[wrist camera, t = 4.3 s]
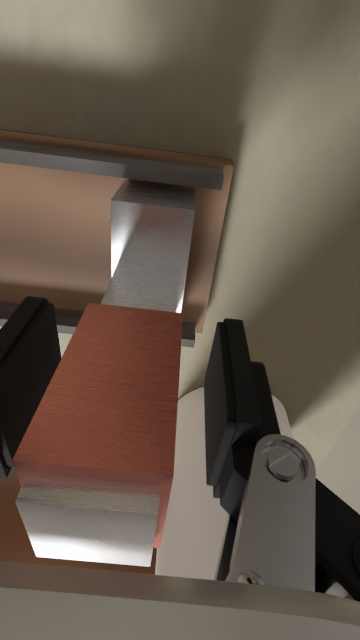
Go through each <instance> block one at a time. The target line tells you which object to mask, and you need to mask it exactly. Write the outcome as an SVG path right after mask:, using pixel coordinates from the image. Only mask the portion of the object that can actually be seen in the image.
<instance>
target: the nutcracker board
mask: <svg viewBox="0 0 360 640" xmlns="http://www.w3.org/2000/svg"><path fill="white" fill-rule="evenodd" d="M233 169H234V165H233V163H232V161H231V159H225V158H217V157H209V156H201V155H194V154H186V153H178V152H170V151H162V150H155V149H147V148H139V147H131V146H124V145H116V144H108V143H100V142H93V141H85V140H77V139H69V138H61V137H54V136H46V135H38V134H30V133H23V132H15V131H7V130H0V326H3V325H4V324H5V323H6V322H7V320H8V319H9V318H10V317H11V315H12V314H13V313H14V311H15V310H16V309H17V308H18V306H19V305H20V304H21V303H22V301H23V300H24V299H25V298H26V297H27V296H32V297H41V298H47V300H48V302H49V303H52V304H53V305H54V310H55V317H56V324H57V331H58V333H67V334H74V332H75V330H76V328H77V325H78V323H79V321H80V319H81V317H82V315H83V313H84V311H85V309H86V307H87V305H88V303H97V304H101V301H102V299H103V297H104V294H105V292H106V290H107V287H108V285H109V283H110V280H111V278H112V271H111V199H112V197H113V196H114V195H115V193H116V192H117V190H118V189H119V188H120V186H121V185H122V183H123V182H124V181H125V180H133V181H141V182H149V183H157V184H165V185H173V186H181V187H189V188H195V215H194V222H193V229H192V237H191V244H190V251H189V259H188V266H187V274H186V281H185V288H184V296H183V303H182V310H181V313H183V319H182V336H181V346H186V347H194V343H195V333H202V331H203V326H204V321H205V316H206V310H207V305H208V300H209V295H210V289H211V284H212V279H213V274H214V268H215V263H216V258H217V253H218V247H219V242H220V237H221V232H222V226H223V221H224V216H225V211H226V205H227V200H228V195H229V190H230V184H231V179H232V174H233Z"/></svg>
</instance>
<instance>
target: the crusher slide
mask: <svg viewBox="0 0 360 640" xmlns="http://www.w3.org/2000/svg"><path fill="white" fill-rule="evenodd" d="M194 215H195V188H189V187H181V186H173V185H165V184H157V183H149V182H141V181H133V180H125V181H124V182H123V183H122V185H121V186H120V188H119V189H118V190H117V192H116V193H115V195H114V196H113V197H112V199H111V271H112V278H111V280H110V283H109V285H108V287H107V290H106V292H105V294H104V297H103V299H102V301H101V304H97V303H88V305H87V307H86V309H85V311H84V313H83V315H82V317H81V319H80V321H79V323H78V325H77V328H76V330H75V332H74V334H73V336H72V338H71V340H70V342H69V344H68V346H67V348H66V350H65V352H64V354H63V356H62V358H61V361H60V363H59V365H58V367H57V369H56V371H55V373H54V375H53V377H52V379H51V381H50V383H49V385H48V387H47V389H46V392H45V394H44V396H43V398H42V400H41V402H40V404H39V406H38V408H37V410H36V412H35V414H34V416H33V418H32V420H31V422H30V425H29V427H28V429H27V431H26V433H25V435H24V437H23V439H22V441H21V443H20V445H19V447H18V449H17V451H16V453H15V456H14V458H13V463H14V466H15V469H16V472H17V475H18V478H19V481H20V484H21V487H22V488H21V490H20V493H19V495H18V497H17V500H16V505H17V507H18V510H19V512H20V515H21V517H22V520H23V522H24V526H25V528H26V531H27V533H28V536H29V539H30V541H31V544H32V547H33V549H34V552H35V555H36V557H45V558H57V559H68V560H79V561H90V562H102V563H113V564H124V565H137V566H147V567H150V563H151V557H152V551H153V548H160V546H161V541H162V535H163V530H164V525H165V519H166V514H167V508H168V503H169V498H170V492H171V487H172V481H173V476H174V460H175V442H176V424H177V407H178V389H179V371H180V354H181V336H182V319H183V313H181V310H182V303H183V296H184V288H185V281H186V274H187V266H188V259H189V251H190V244H191V237H192V229H193V222H194Z"/></svg>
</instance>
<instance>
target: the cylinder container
mask: <svg viewBox="0 0 360 640" xmlns="http://www.w3.org/2000/svg"><path fill="white" fill-rule="evenodd" d="M271 395H272V394H271ZM272 399H273V404H274V408H275V412H276V416H277V420H278V424H279V429H280V433H281V435H284V436H288V437H290V438H292V439H293V435H292V431H291V428H290V424H289V420H288V417H287V413H286V410H285V408H284V406H283V405H282V403H281V402H280V401H279V400H278V399H277V398H276V397H275V396H273V395H272ZM227 517H228V513H227V512H226V511H225V510H224V509H223V508H222V506H221V505H220V498H213V486H208V485H207V483H206V451H205V413H204V387H201V388H198V389H196V390H193V391H191V392H189V393H188V394H186V395H184V396H183V397H182V398H180V399H179V400H178V407H177V424H176V442H175V460H174V476H173V481H172V487H171V492H170V498H169V503H168V508H167V514H166V519H165V525H164V530H163V535H162V541H161V546H160V548H157V559H156V570H155V575H163V576H174V577H185V578H196V579H207V580H214V577H215V573H216V568H217V564H218V559H219V554H220V550H221V545H222V540H223V536H224V531H225V526H226V522H227Z"/></svg>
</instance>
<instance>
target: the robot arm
mask: <svg viewBox="0 0 360 640" xmlns="http://www.w3.org/2000/svg"><path fill="white" fill-rule="evenodd" d="M60 361H61V353H60V346H59V339H58V331H57V324H56V317H55V310H54V305H53V304H52V303H49V302H48V300H47V298H41V297H32V296H27V297H26V298H25V299H24V300H23V301H22V303H21V304H20V305H19V306H18V308H17V309H16V310H15V311H14V313H13V314H12V315H11V317H10V318H9V319H8V320H7V322H6V323H5V324H4V325H3V327H2V328H1V329H0V478H7V476H8V474H9V472H10V470H11V468H12V467H15V466H14V463H13V458H14V456H15V453H16V451H17V449H18V447H19V445H20V443H21V441H22V439H23V437H24V435H25V433H26V431H27V429H28V427H29V425H30V422H31V420H32V418H33V416H34V414H35V412H36V410H37V408H38V406H39V404H40V402H41V400H42V398H43V396H44V394H45V392H46V389H47V387H48V385H49V383H50V381H51V379H52V377H53V375H54V373H55V371H56V369H57V367H58V365H59V363H60ZM204 413H205V451H206V483H207V485H208V486H213V498H220V505H221V506H222V508H223V509H224V510H225V511H226V512H227V513H228V517H227V522H226V526H225V531H224V536H223V540H222V545H221V550H220V554H219V559H218V564H217V568H216V573H215V577H214V580H207V579H196V578H185V577H174V576H163V575H152V574H141V573H130V572H119V571H108V570H96V569H84V568H73V567H62V566H50V565H38V564H27V563H15V562H4V561H0V640H360V515H359V514H358V513H357V512H356V511H354V510H353V509H352V508H351V507H350V506H349V505H347V504H346V503H345V502H344V501H343V500H341V499H340V498H339V497H338V496H337V495H335V494H334V493H333V492H332V491H331V490H329V489H328V488H327V487H326V486H325V485H324V484H322V483H321V482H320V481H319V480H318V479H316V478H315V476H316V471H315V465H314V461H313V459H312V457H311V455H310V454H309V452H308V451H307V450H306V449H305V448H304V446H302V445H301V444H300V443H299V442H297V441H296V440H294V439H292V438H290V437H288V436H284V435H281V433H280V429H279V424H278V420H277V416H276V412H275V408H274V404H273V399H272V395H271V391H270V387H269V383H268V379H267V374H266V370H265V367H264V364H263V363H260V362H251V361H250V356H249V351H248V345H247V340H246V335H245V330H244V325H243V321H242V320H237V319H228V318H225V319H224V322H218V323H217V327H216V331H215V336H214V340H213V345H212V350H211V354H210V359H209V363H208V368H207V372H206V377H205V382H204Z"/></svg>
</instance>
